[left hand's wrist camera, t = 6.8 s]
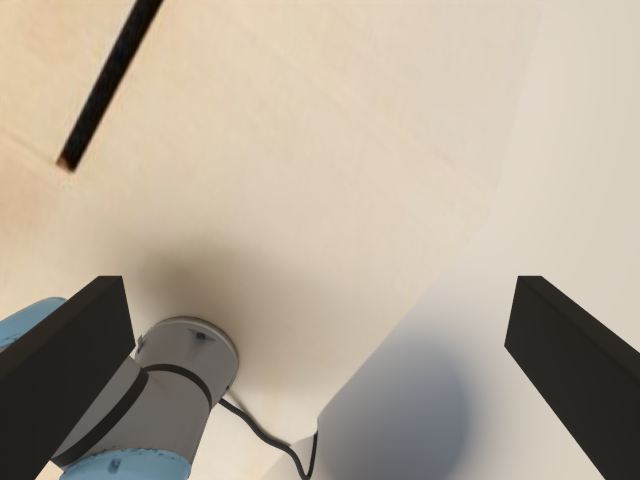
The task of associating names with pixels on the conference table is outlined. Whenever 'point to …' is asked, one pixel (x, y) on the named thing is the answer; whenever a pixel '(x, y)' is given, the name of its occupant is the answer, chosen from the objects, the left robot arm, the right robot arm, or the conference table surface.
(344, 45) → the conference table surface
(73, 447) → the left robot arm
